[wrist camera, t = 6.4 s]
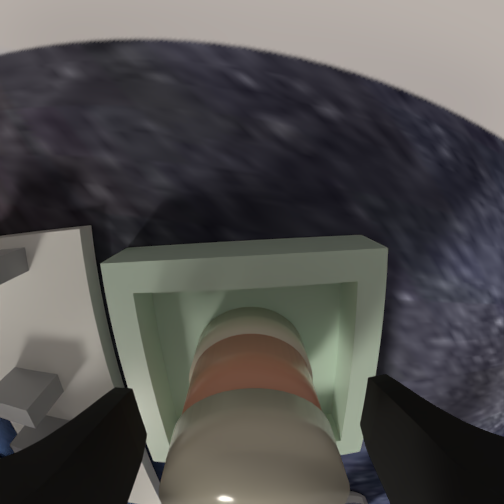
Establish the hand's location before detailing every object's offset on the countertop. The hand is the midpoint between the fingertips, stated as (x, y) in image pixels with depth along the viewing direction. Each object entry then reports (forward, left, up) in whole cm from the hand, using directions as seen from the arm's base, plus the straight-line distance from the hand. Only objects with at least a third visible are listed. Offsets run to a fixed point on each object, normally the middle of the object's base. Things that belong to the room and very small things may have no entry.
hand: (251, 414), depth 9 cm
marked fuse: (0, 0, -3) cm, 4 cm away
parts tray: (0, 0, -4) cm, 4 cm away
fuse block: (-3, +10, -4) cm, 12 cm away
